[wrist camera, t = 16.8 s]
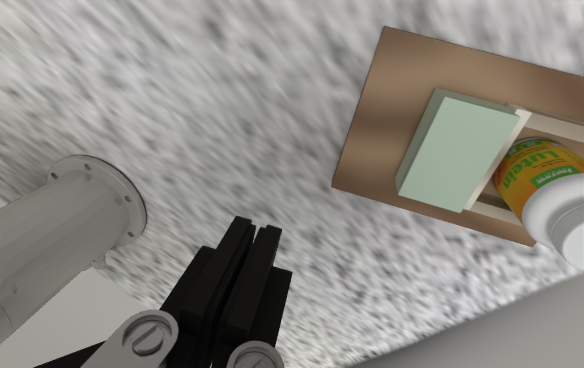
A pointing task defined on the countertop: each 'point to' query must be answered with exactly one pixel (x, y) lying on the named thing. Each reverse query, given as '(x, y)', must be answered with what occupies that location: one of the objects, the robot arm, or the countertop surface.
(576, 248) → the supplement bottle
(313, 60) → the countertop surface
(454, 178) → the block
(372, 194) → the board
